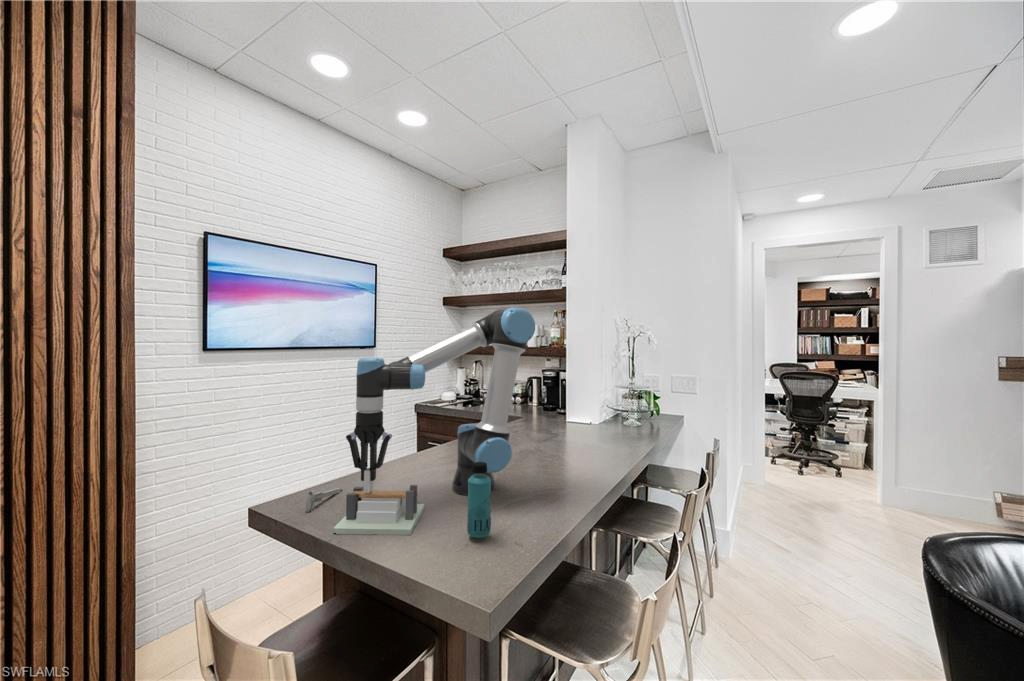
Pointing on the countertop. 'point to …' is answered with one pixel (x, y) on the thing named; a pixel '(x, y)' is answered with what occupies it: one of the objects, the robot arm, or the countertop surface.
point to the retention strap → (380, 494)
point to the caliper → (318, 497)
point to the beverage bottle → (479, 502)
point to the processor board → (380, 527)
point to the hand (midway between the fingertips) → (368, 491)
